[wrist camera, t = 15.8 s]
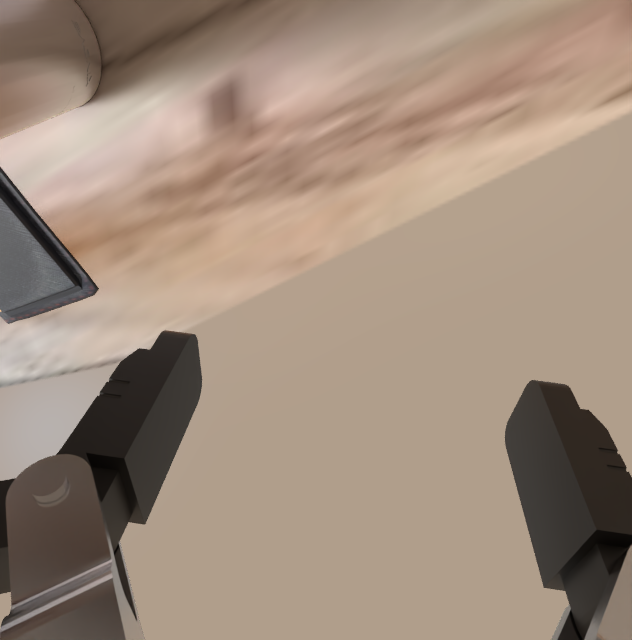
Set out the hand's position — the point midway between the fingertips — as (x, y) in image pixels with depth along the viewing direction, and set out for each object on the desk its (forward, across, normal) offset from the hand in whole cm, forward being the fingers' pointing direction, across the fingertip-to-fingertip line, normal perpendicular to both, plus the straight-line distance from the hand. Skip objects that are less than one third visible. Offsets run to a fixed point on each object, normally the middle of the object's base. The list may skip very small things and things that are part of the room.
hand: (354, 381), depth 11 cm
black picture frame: (+31, +38, +16) cm, 51 cm away
